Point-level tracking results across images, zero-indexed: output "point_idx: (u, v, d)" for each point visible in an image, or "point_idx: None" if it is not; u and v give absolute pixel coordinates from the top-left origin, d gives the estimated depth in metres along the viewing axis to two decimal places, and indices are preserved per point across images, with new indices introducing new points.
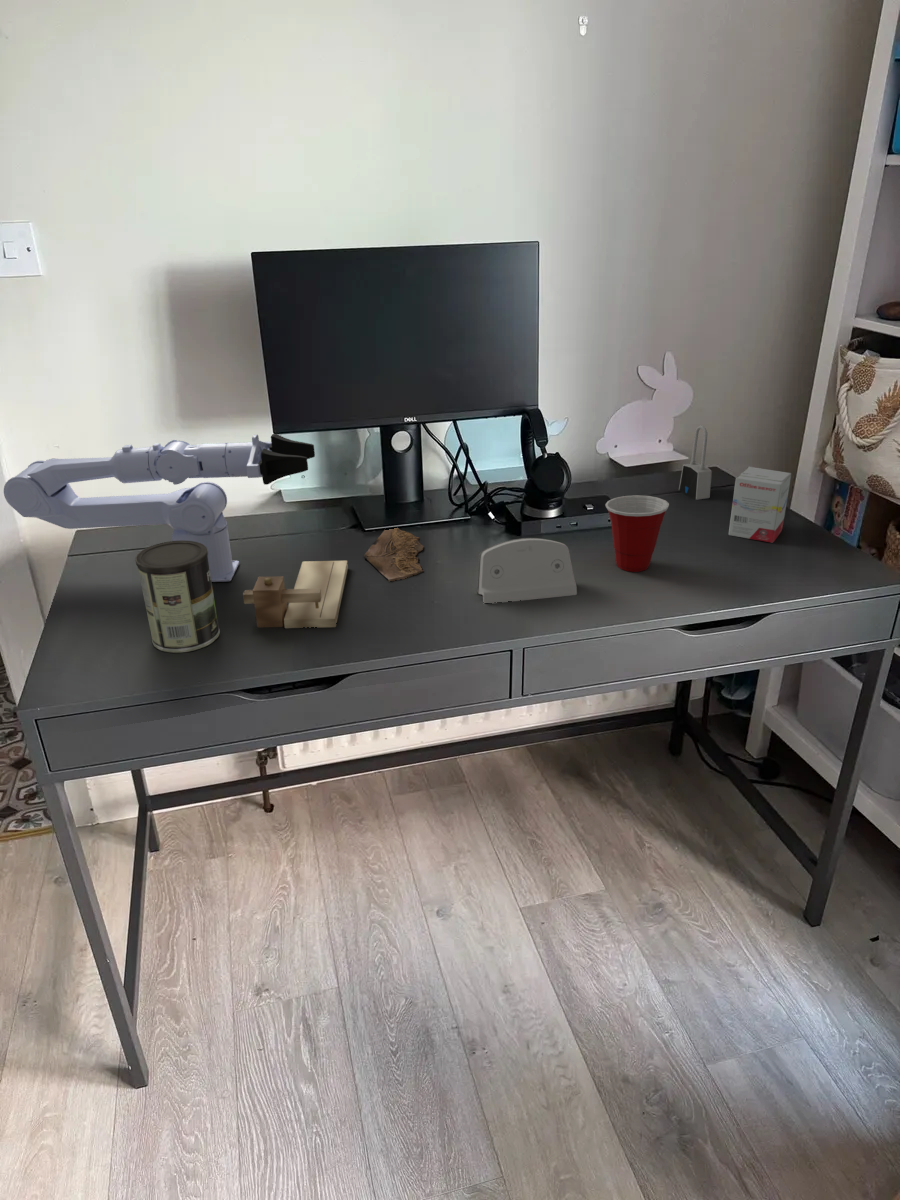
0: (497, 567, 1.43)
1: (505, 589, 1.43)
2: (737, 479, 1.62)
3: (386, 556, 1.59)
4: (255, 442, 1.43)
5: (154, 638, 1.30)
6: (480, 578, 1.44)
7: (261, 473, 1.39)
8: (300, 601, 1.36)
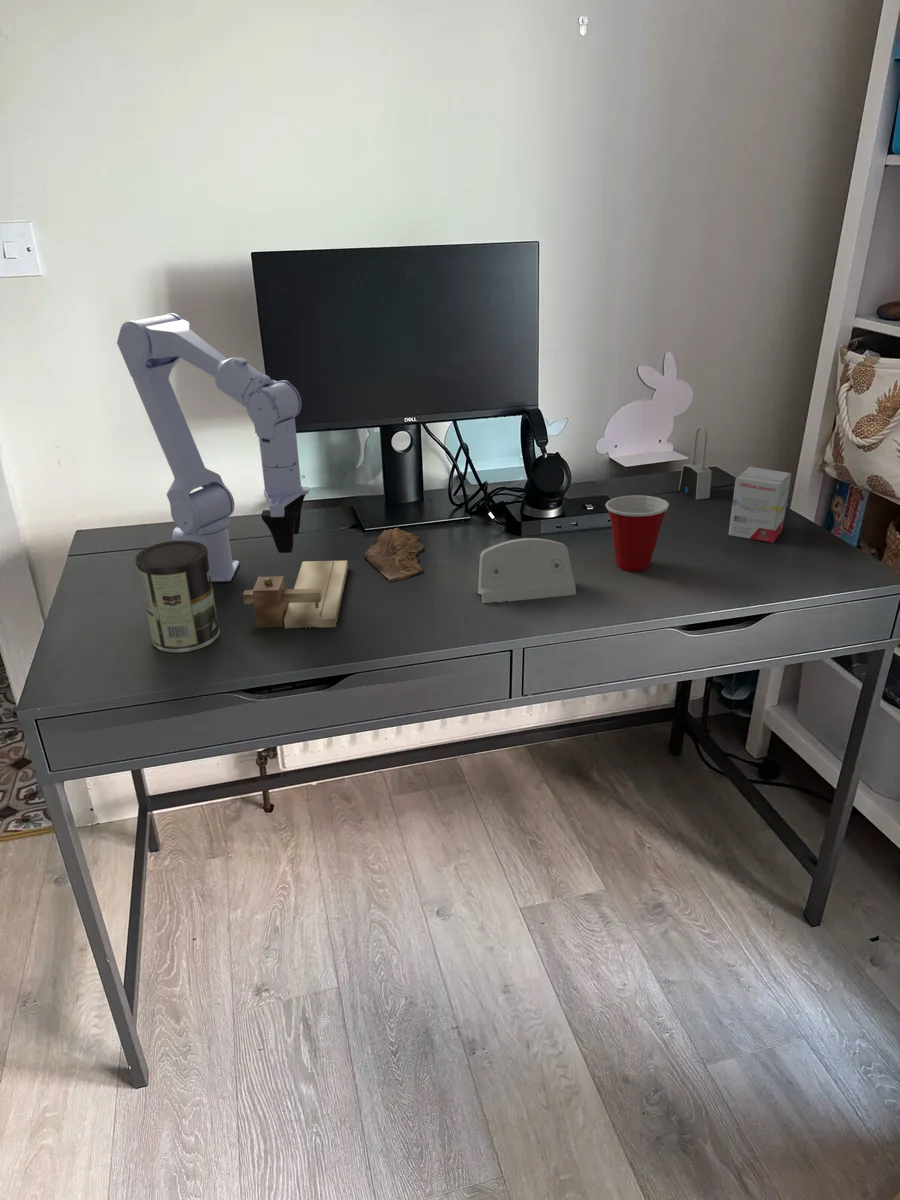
0: (496, 567, 1.43)
1: (504, 589, 1.43)
2: (737, 479, 1.62)
3: (386, 556, 1.59)
4: (302, 494, 1.36)
5: (154, 638, 1.30)
6: (479, 578, 1.44)
7: None
8: (300, 601, 1.36)
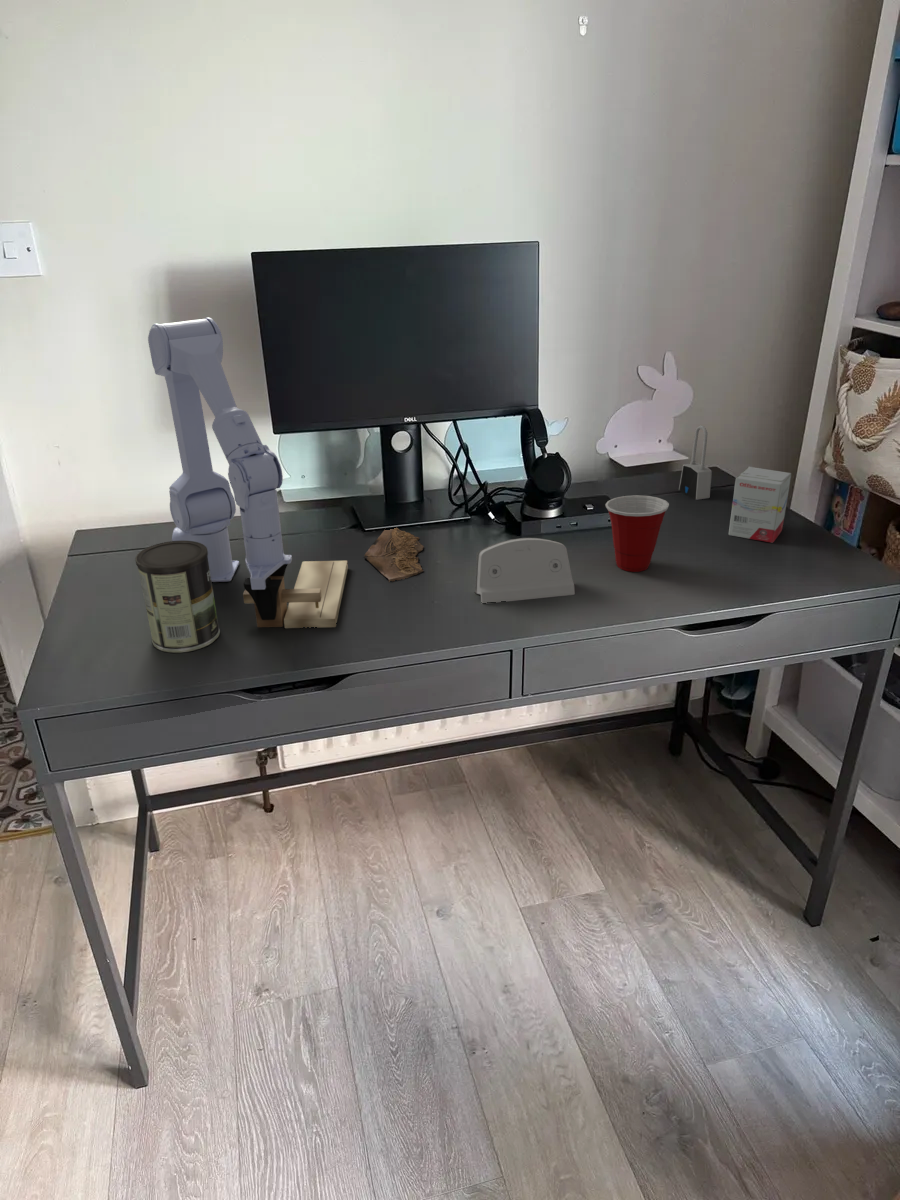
0: (495, 567, 1.43)
1: (503, 589, 1.43)
2: (737, 479, 1.62)
3: (386, 556, 1.59)
4: (284, 563, 1.33)
5: (154, 638, 1.30)
6: (478, 578, 1.44)
7: None
8: (300, 601, 1.36)
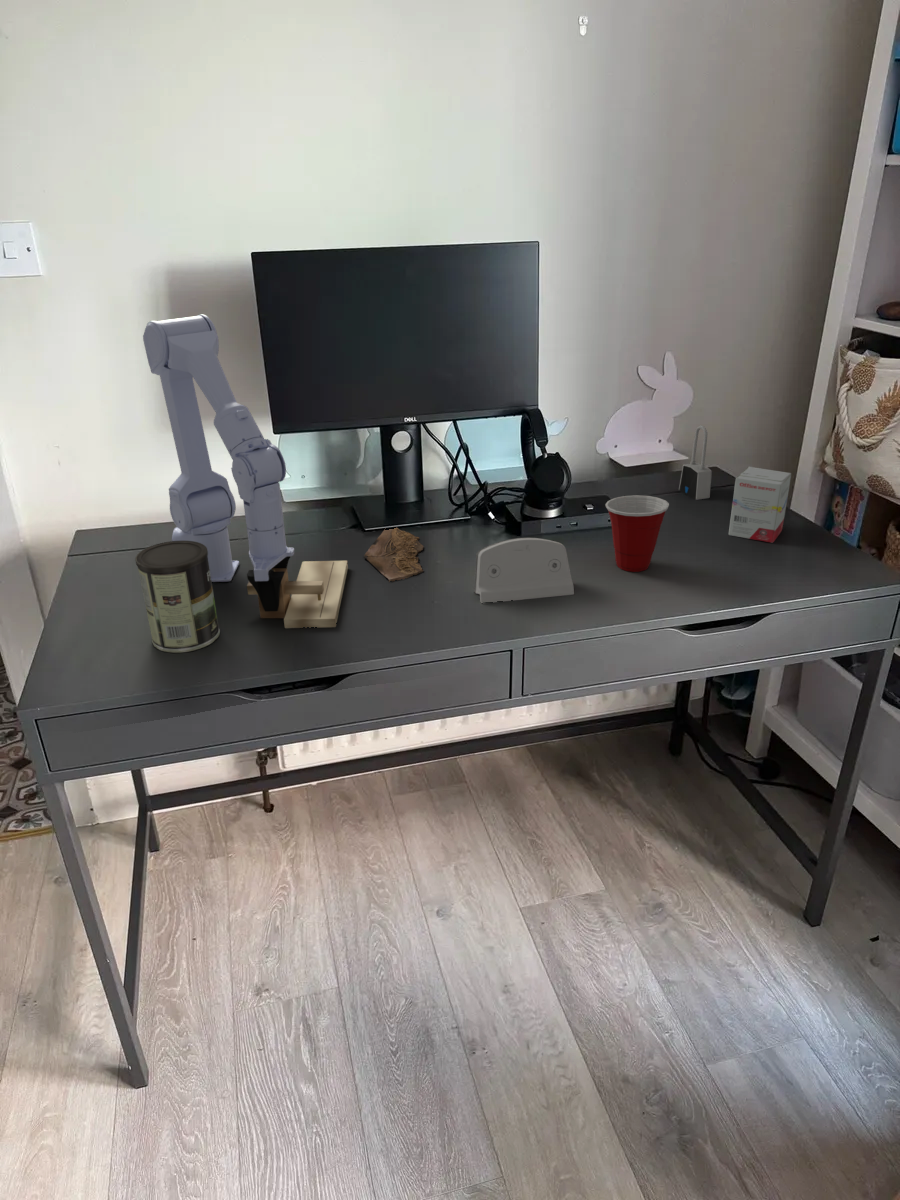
0: (494, 566, 1.43)
1: (502, 588, 1.43)
2: (737, 479, 1.62)
3: (386, 556, 1.59)
4: (287, 555, 1.36)
5: (154, 638, 1.30)
6: (477, 577, 1.44)
7: None
8: (303, 593, 1.39)
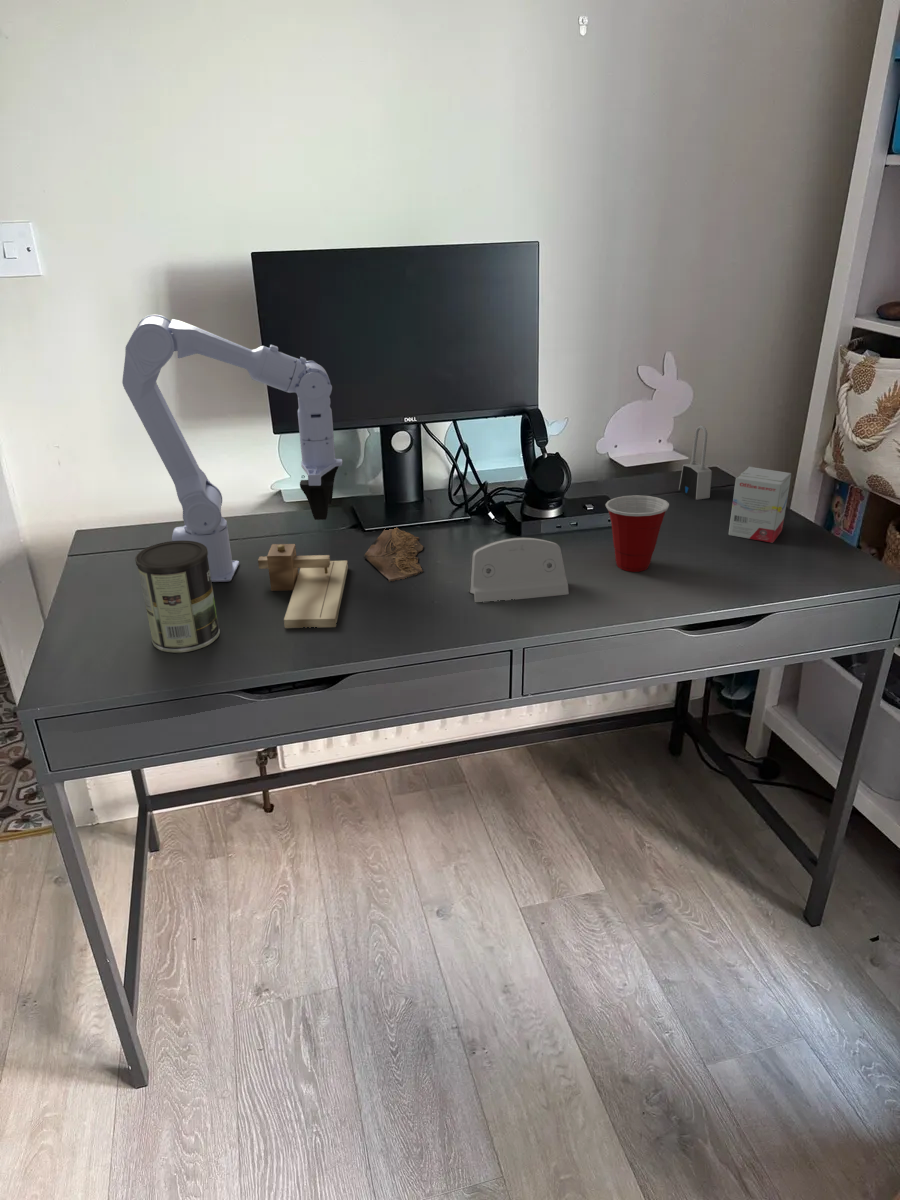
0: (489, 566, 1.44)
1: (496, 588, 1.43)
2: (737, 479, 1.62)
3: (386, 556, 1.59)
4: (336, 465, 1.49)
5: (154, 638, 1.30)
6: (472, 577, 1.44)
7: None
8: (310, 566, 1.48)
